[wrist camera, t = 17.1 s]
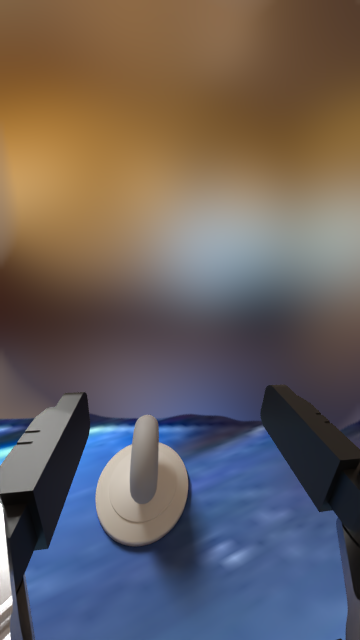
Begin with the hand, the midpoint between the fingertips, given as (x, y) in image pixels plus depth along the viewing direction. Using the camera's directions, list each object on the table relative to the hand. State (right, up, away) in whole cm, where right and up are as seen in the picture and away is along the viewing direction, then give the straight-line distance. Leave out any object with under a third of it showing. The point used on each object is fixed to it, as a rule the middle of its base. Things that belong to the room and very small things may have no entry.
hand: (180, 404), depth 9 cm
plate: (-5, -21, +20) cm, 29 cm away
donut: (-5, -20, +20) cm, 28 cm away
